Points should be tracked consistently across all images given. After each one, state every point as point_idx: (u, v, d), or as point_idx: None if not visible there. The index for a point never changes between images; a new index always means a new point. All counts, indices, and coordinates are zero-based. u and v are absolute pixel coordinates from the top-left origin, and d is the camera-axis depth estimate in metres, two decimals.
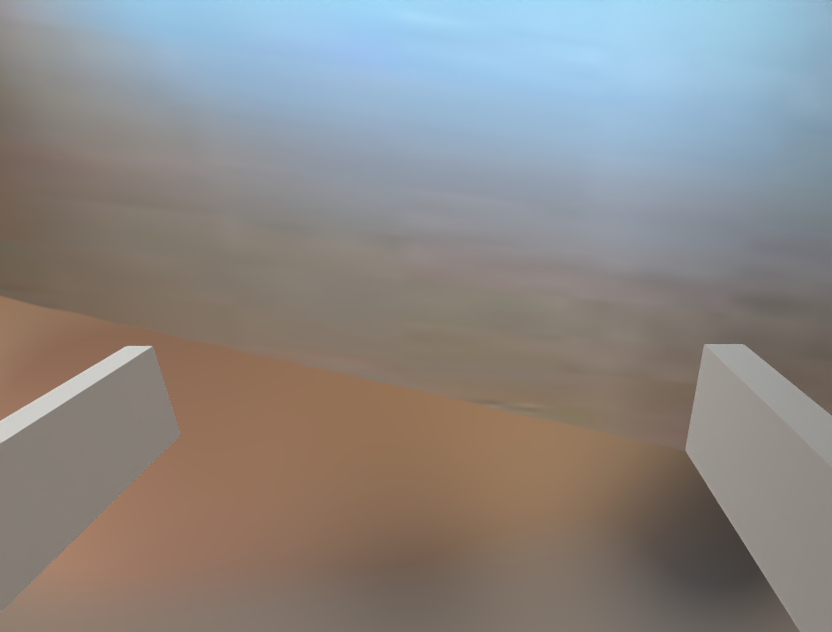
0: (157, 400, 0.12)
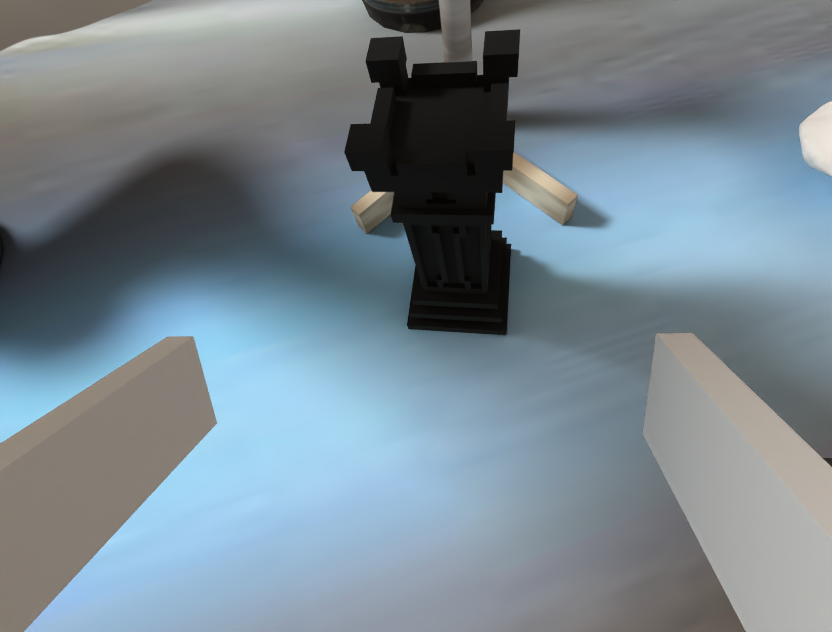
0: (197, 388, 0.12)
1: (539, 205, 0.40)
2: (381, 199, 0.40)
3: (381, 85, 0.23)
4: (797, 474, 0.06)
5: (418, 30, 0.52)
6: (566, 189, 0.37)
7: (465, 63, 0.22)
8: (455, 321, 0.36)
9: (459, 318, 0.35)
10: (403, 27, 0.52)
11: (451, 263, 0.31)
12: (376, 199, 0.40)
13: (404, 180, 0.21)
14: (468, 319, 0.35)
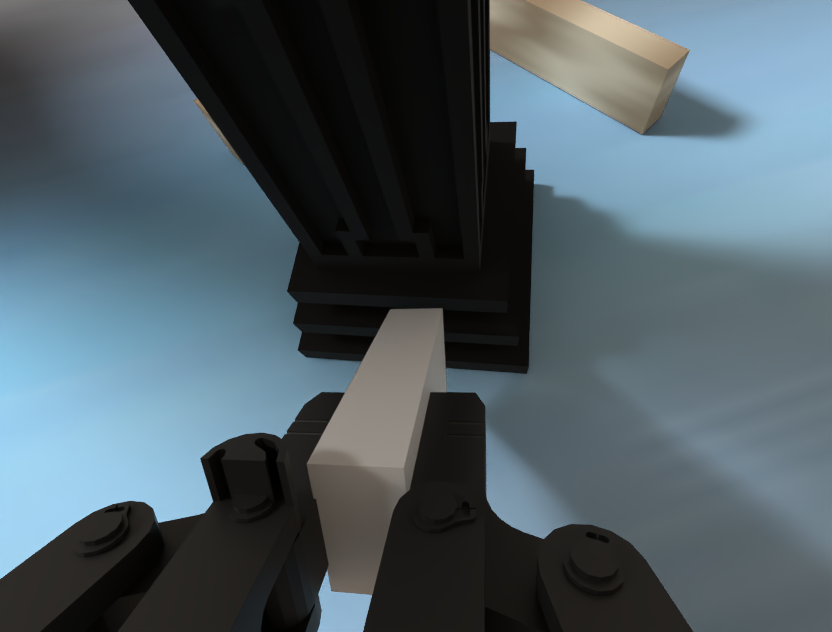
0: None
1: (589, 95, 0.19)
2: None
3: None
4: (395, 395, 0.08)
5: None
6: (660, 41, 0.16)
7: None
8: None
9: None
10: None
11: (366, 169, 0.10)
12: None
13: None
14: None
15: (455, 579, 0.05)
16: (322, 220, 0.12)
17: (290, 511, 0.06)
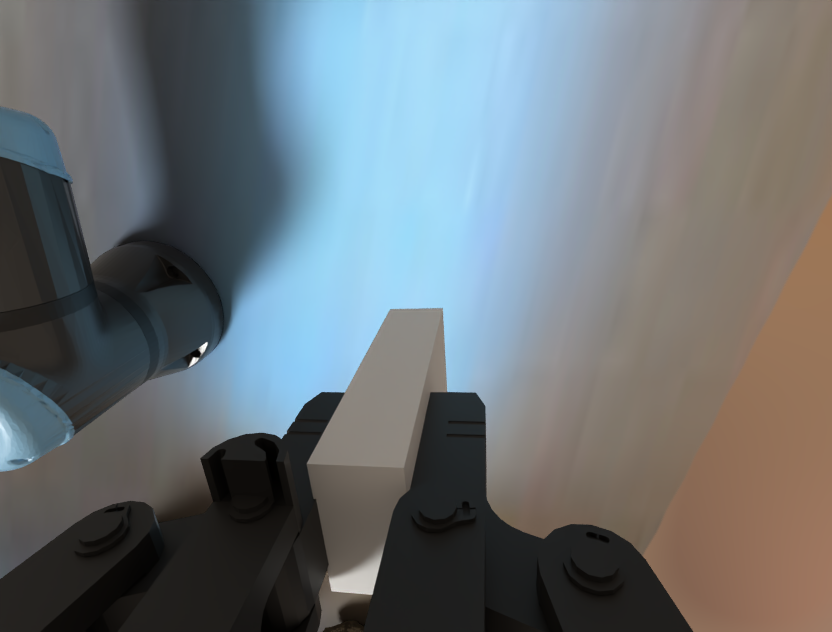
0: None
1: None
2: None
3: None
4: (395, 395, 0.08)
5: None
6: None
7: None
8: None
9: None
10: None
11: None
12: None
13: None
14: None
15: (455, 579, 0.05)
16: None
17: (290, 511, 0.06)
